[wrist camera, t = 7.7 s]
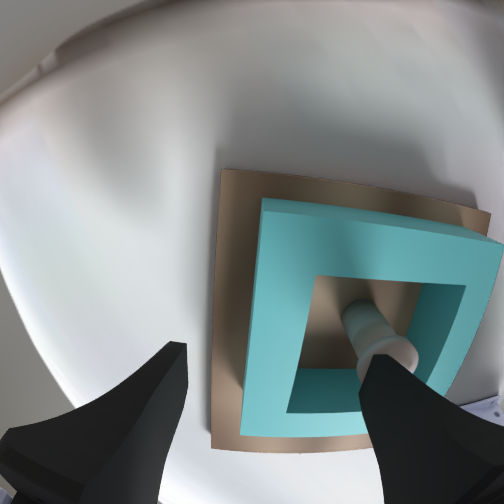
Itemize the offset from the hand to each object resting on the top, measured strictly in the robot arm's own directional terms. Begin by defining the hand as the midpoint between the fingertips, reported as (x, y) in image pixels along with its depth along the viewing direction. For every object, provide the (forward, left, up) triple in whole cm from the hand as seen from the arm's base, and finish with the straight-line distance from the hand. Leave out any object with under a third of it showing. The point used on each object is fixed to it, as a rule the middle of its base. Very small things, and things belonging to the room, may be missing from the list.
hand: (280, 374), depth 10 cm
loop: (-4, 0, -5) cm, 6 cm away
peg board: (-4, +3, -6) cm, 8 cm away
